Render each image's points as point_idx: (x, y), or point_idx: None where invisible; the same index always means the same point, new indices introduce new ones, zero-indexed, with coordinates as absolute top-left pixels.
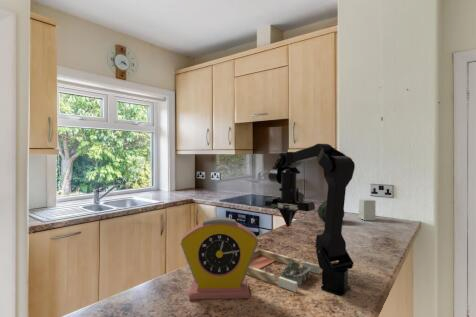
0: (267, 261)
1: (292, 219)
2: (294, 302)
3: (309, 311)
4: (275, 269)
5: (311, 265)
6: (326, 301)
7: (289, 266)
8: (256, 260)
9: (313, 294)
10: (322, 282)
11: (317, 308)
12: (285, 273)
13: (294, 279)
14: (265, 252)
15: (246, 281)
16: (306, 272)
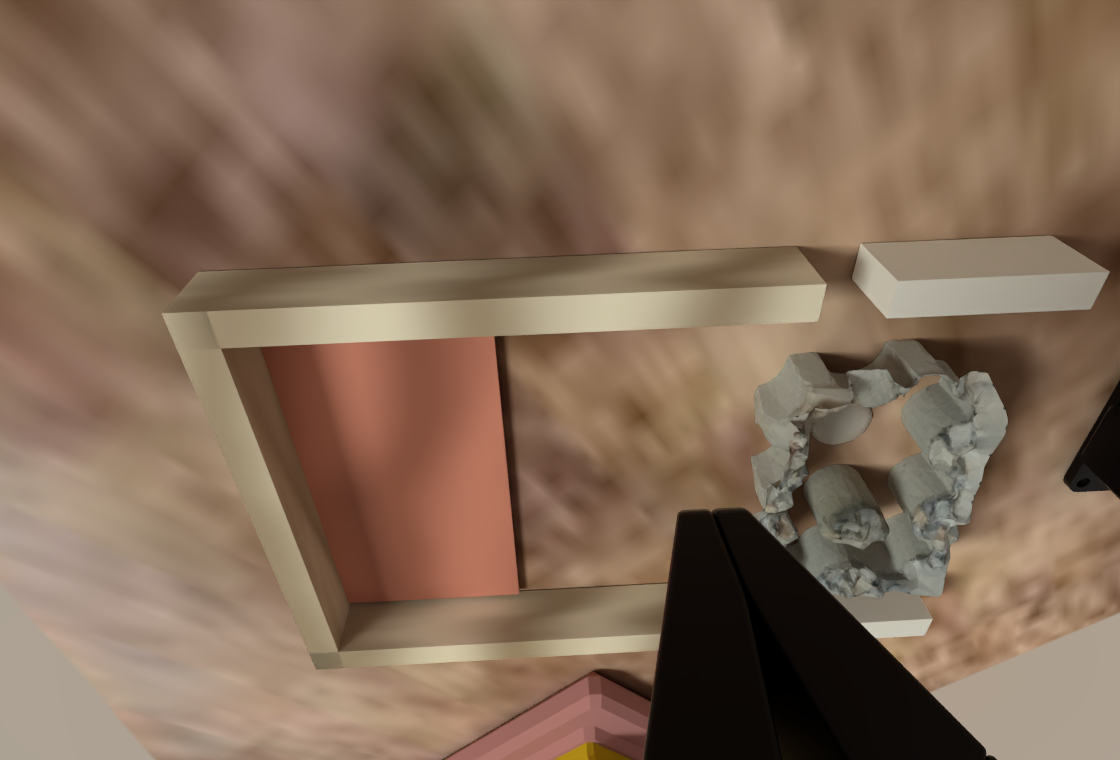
0: (452, 380)
1: (920, 697)
2: (919, 646)
3: (1007, 655)
4: (618, 441)
5: (985, 307)
6: (1095, 560)
7: (791, 489)
8: (353, 428)
9: (1011, 547)
10: (1094, 473)
11: (1045, 624)
12: None
13: (884, 570)
14: (326, 336)
15: (621, 711)
16: (972, 494)
